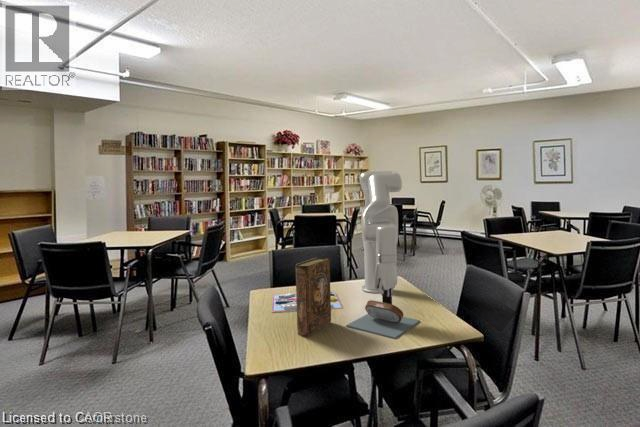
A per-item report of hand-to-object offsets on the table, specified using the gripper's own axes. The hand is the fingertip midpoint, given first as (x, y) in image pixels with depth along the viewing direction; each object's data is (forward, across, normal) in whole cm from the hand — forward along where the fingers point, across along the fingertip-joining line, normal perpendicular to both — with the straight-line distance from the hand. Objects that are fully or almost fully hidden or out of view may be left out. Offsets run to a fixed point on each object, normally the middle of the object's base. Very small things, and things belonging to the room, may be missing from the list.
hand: (387, 305), depth 144 cm
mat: (+6, +3, 0) cm, 7 cm away
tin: (+5, 0, 0) cm, 5 cm away
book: (+6, +21, -19) cm, 29 cm away
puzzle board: (+7, -1, -42) cm, 43 cm away
